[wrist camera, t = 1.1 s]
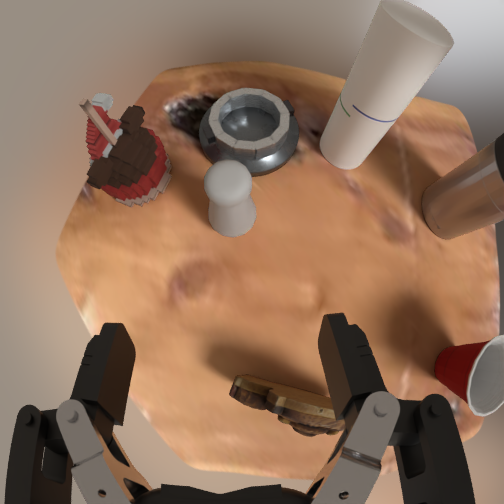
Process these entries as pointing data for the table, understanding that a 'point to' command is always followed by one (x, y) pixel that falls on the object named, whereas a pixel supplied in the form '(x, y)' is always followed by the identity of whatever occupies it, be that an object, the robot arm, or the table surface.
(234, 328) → the table surface
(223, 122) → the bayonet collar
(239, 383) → the wooden carving
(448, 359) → the plastic cup
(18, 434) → the robot arm
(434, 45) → the cylindrical container
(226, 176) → the salt shaker
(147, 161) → the cake
